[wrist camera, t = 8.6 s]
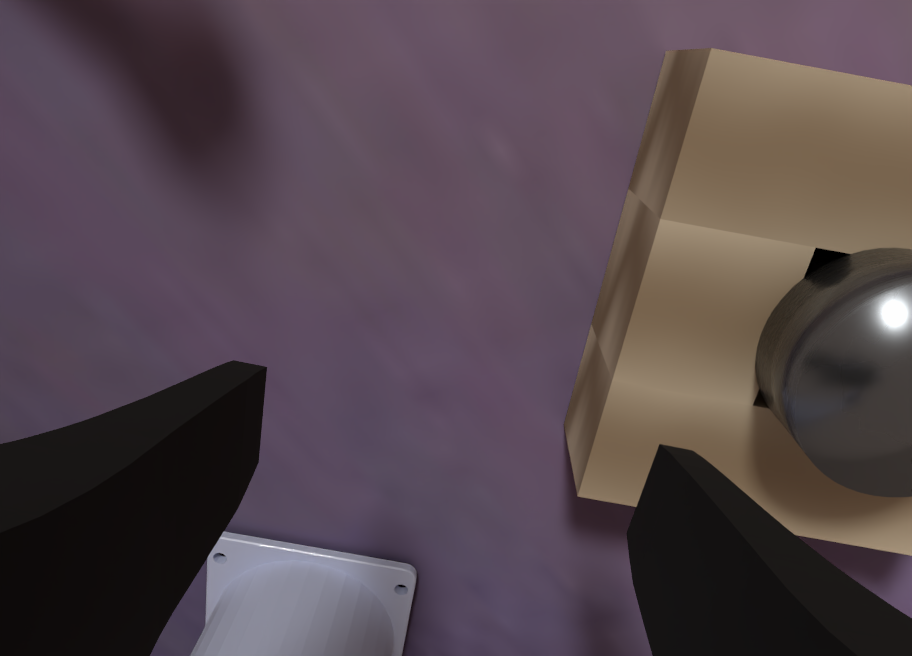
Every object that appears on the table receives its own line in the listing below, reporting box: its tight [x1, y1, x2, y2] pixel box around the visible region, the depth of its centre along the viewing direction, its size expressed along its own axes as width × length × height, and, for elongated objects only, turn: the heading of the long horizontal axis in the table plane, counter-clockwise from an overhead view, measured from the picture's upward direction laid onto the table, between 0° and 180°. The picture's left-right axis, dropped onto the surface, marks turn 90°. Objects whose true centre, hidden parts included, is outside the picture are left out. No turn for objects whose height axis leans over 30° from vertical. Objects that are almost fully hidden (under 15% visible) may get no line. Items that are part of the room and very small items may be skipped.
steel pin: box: [755, 248, 912, 497], centre depth 17 cm, size 5×5×6 cm
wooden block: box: [564, 48, 912, 556], centre depth 18 cm, size 12×12×4 cm
